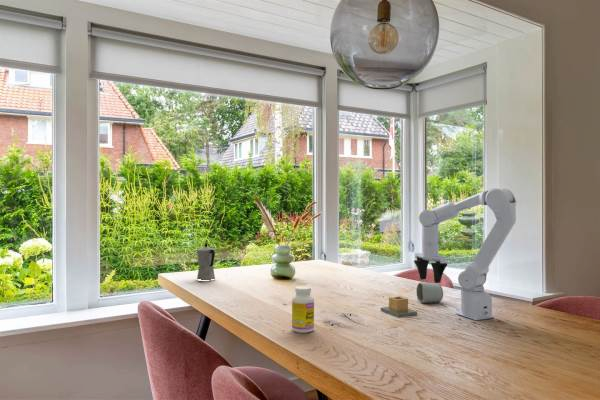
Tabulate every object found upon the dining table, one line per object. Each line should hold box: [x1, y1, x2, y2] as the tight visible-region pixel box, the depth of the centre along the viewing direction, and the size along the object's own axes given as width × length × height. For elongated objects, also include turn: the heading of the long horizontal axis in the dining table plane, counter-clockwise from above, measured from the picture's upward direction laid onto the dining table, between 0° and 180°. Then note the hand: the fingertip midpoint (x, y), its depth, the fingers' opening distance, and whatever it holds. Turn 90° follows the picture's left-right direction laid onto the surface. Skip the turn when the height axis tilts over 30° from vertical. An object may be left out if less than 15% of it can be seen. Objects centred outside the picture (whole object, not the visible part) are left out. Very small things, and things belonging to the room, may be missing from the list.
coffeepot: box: [196, 243, 216, 280], centre depth 219 cm, size 15×9×18 cm, turn 37°
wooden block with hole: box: [388, 296, 409, 312], centre depth 156 cm, size 5×5×4 cm
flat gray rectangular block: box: [380, 306, 418, 318], centre depth 156 cm, size 10×8×4 cm
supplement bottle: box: [291, 285, 315, 334], centre depth 135 cm, size 7×7×13 cm
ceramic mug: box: [416, 282, 444, 304], centre depth 173 cm, size 11×8×8 cm
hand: (430, 280), depth 162 cm, fingers open, 7 cm apart
